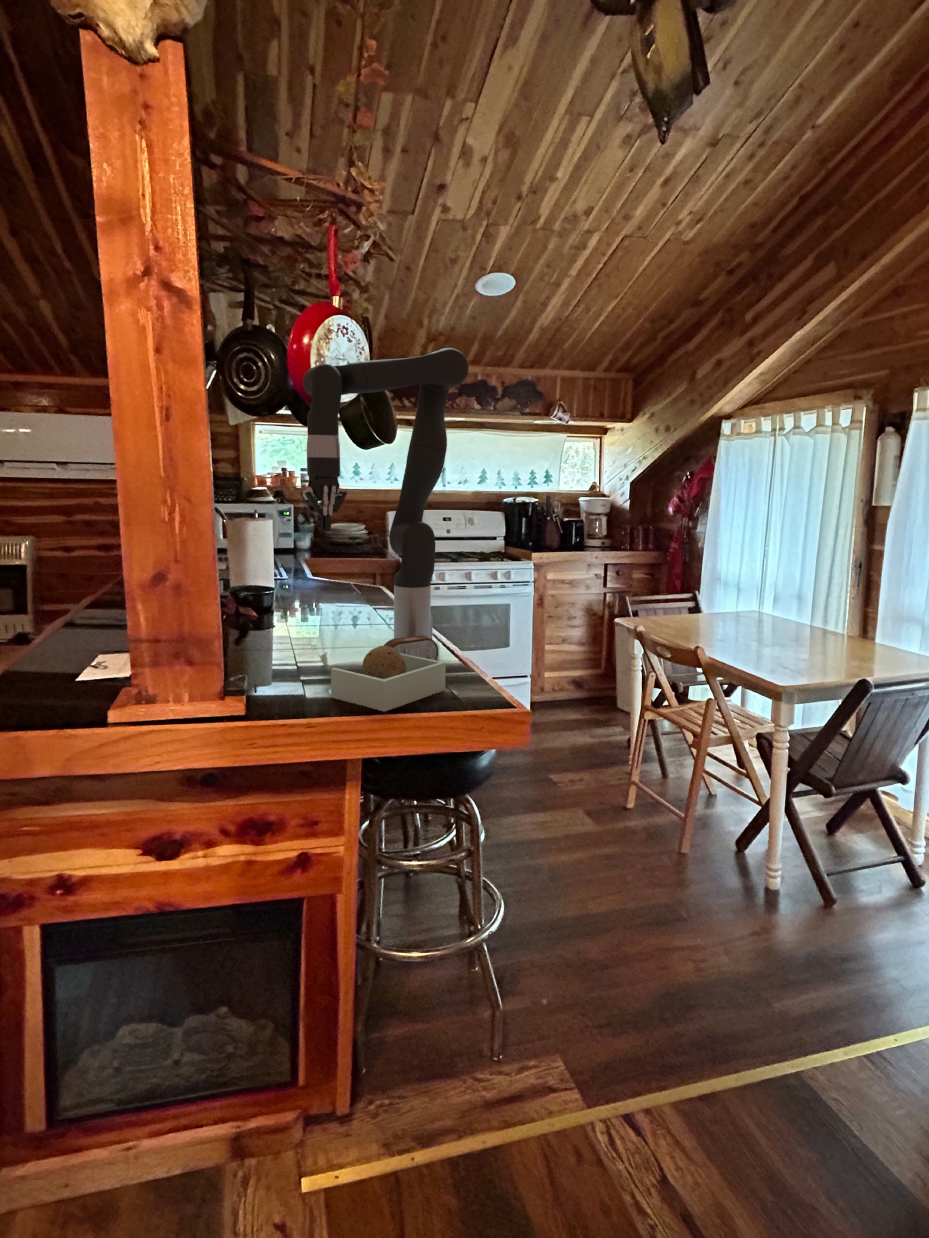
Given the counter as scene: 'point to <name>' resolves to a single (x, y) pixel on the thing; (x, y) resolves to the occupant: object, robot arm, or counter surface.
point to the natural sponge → (383, 663)
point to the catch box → (390, 684)
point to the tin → (415, 646)
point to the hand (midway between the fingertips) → (324, 531)
